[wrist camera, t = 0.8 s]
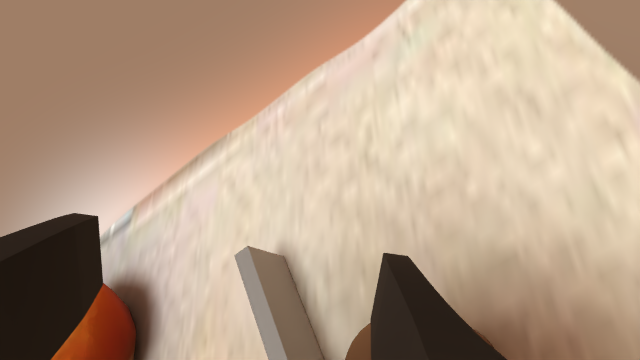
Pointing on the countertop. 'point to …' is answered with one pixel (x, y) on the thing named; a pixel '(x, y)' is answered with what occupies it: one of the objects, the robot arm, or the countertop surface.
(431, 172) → the countertop surface
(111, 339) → the fruit
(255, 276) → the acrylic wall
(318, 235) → the countertop surface
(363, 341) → the walnut cylinder
